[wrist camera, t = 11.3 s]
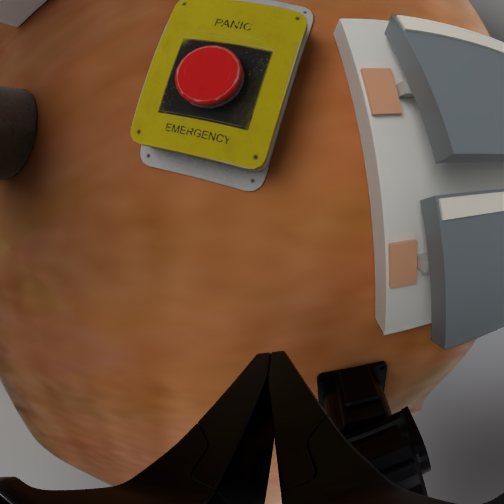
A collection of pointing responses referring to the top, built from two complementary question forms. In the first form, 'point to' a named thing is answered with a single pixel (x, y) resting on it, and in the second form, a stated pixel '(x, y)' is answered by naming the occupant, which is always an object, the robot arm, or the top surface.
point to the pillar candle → (16, 129)
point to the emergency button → (220, 88)
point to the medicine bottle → (17, 10)
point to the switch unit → (399, 172)
